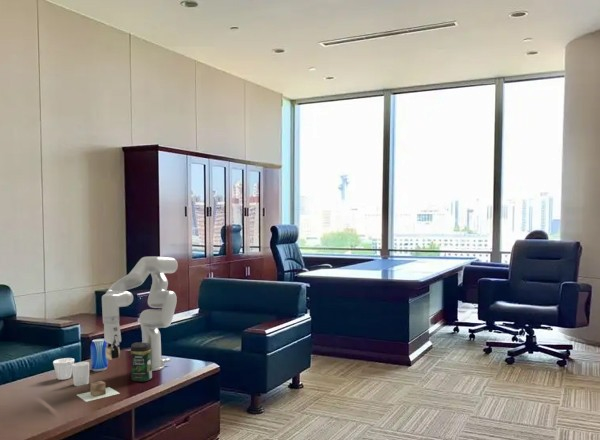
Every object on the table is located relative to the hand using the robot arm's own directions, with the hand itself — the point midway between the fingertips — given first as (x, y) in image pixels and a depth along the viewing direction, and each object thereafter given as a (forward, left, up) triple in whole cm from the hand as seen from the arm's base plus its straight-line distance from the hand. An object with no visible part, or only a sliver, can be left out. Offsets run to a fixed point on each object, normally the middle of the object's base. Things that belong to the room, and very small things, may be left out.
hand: (112, 356), depth 251 cm
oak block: (0, 0, -1) cm, 1 cm away
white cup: (+10, -15, -14) cm, 23 cm away
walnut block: (+11, +11, -13) cm, 21 cm away
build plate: (+11, +11, -14) cm, 21 cm away
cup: (+13, -32, -14) cm, 37 cm away
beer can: (-6, -35, -14) cm, 38 cm away
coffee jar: (-14, +1, -14) cm, 20 cm away
